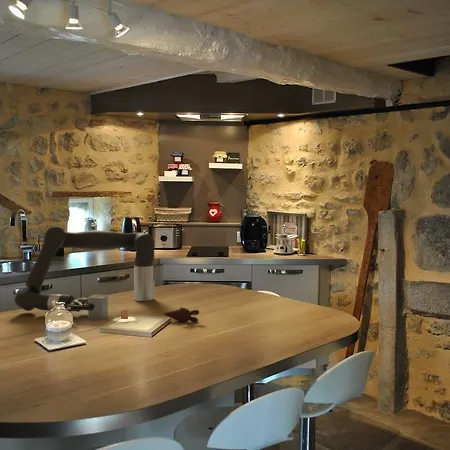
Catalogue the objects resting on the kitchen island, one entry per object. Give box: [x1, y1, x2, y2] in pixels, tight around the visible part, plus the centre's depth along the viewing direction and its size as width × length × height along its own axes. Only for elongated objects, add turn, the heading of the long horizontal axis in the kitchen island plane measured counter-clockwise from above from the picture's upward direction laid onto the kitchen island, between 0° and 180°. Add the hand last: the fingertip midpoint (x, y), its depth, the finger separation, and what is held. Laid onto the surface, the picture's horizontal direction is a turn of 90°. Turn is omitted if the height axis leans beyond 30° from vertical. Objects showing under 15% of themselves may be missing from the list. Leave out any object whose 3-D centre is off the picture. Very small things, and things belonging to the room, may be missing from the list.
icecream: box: [163, 306, 200, 324], centre depth 220 cm, size 7×7×15 cm
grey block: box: [87, 293, 109, 321], centre depth 223 cm, size 6×6×10 cm
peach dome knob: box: [120, 308, 129, 319], centre depth 222 cm, size 3×3×4 cm
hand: (96, 305), depth 223 cm, fingers open, 8 cm apart
